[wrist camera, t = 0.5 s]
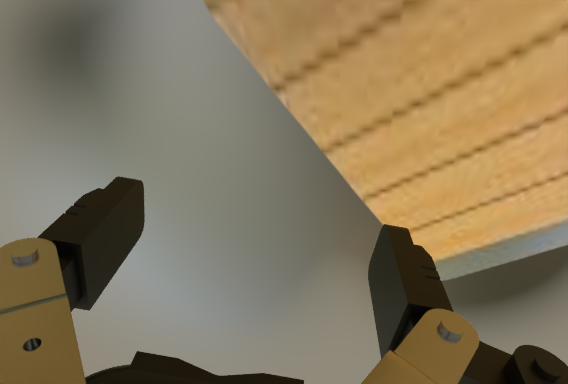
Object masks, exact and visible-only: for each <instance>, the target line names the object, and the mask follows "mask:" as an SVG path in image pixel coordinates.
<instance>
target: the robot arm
mask: <svg viewBox="0 0 568 384" xmlns="http://www.w3.org/2000/svg"><path fill="white" fill-rule="evenodd" d="M143 228H144V187H143V182H142V181H141V180H136V179H130V178H124V177H116V178H115V179H114V180H113V181H112V182H111V183H110V184H109V185H108V186H107V187H106V188H105V189H100V188H98V189H96V190H93V191H91V192H89V193H87V194H85V195H83V196H82V197H81V198H80V199H79V200H78V201H76V202H75V203H74V206H71V207H70V208H69V209H68V210H67V211H66V213H65V214H64V213H63V214H62V215H61V216H60V217H59V218H58V219H57V220H56V221H55V222H54V223H53V224H51V225H50V226H49V227H48V228H47V229H46V230H45V231H44V232H43V233H42V234H41V235H40V236H38V237H37V238H27V239H20V240H17V241H14V242H11V243H8V244H6V245H4V246H3V247H1V248H0V384H304V380H300V379H294V378H288V377H282V376H277V375H271V374H265V373H258V374H243V375H228V376H218V375H214V374H212V373H210V372H208V371H205V370H203V369H201V368H199V367H196V366H194V365H192V364H189V363H187V362H185V361H183V360H181V359H178V358H173V357H167V356H162V355H156V354H150V353H144V352H139V351H137V353H136V354H135V357H134V359H133V361H132V363H131V365H123V366H117V367H112V368H109V369H105V370H102V371H99V372H97V373H94V374H91V375H89V376H87V377H85V376H84V372H83V367H82V362H81V357H80V353H79V348H78V343H77V339H76V334H75V329H74V325H73V320H72V315H71V311H72V310H73V309H74V308H78V309H84V310H90V309H91V308H92V306H93V305H94V303H95V302H96V300H97V299H98V298H99V296H100V295H101V293H102V291H103V290H104V289H105V287H106V286H107V285H108V283H109V282H110V280H111V279H112V277H113V276H114V274H115V273H116V272H117V270H118V268H119V267H120V266H121V264H122V263H123V261H124V260H125V259H126V257H127V256H128V254H129V253H130V251H131V250H132V248H133V247H134V246H135V244H136V243H137V241H138V240H139V238H140V236H141V234H142V231H143ZM368 280H369V286H370V292H371V298H372V304H373V311H374V317H375V323H376V329H377V335H378V341H379V348H380V353H381V360H380V362H379V363H378V364H377V365H376V366H375V368H374V369H373V370H372V371H371V372H370V374H369V375H368V376H367V377H366V379H365V380H364V381H363V382H362V383H361V384H568V366H567V365H566V364H565V363H564V362H563V361H561V360H560V359H559V358H557V357H556V356H555V355H553V354H552V353H550V352H548V351H546V350H544V349H542V348H539V347H536V346H532V345H523V346H519V347H518V348H517V349H516V350H515V351H514V353H513V354H512V355H511V354H508V353H506V352H503V351H501V350H499V349H496V348H494V347H492V346H489V345H487V344H485V343H483V342H481V341H479V337H478V334H477V332H476V331H475V329H474V328H473V326H472V325H470V323H469V322H468V321H466V320H465V319H464V318H463V317H461V316H460V315H458V314H456V313H454V312H453V309H452V307H451V304H450V302H449V299H448V297H447V294H446V292H445V289H444V287H443V284H442V282H441V281H440V277H439V274H438V272H437V271H436V267H435V264H434V262H433V259H432V257H431V256H430V255H429V254H428V253H427V252H426V251H425V249H424V248H423V247H422V246H419V245H414V244H413V241H412V238H411V236H410V233H409V230H408V229H407V228H403V227H398V226H392V225H386V224H384V225H383V227H382V228H381V231H380V234H379V237H378V240H377V243H376V245H375V248H374V252H373V254H372V257H371V260H370V264H369V270H368Z"/></svg>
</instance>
